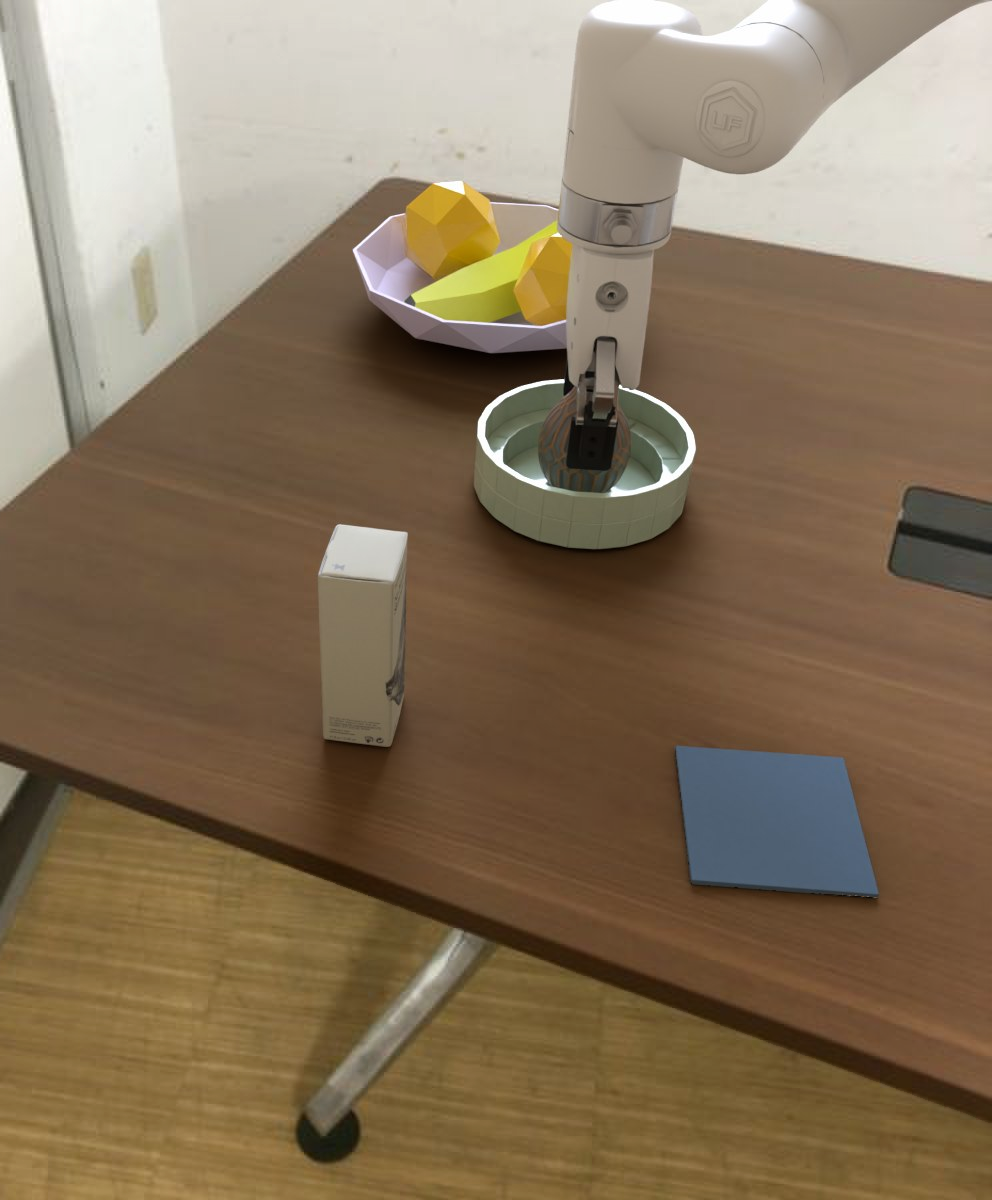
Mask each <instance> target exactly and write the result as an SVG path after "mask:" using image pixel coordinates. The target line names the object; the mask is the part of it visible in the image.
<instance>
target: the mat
mask: <svg viewBox="0 0 992 1200" xmlns="http://www.w3.org/2000/svg"><path fill="white" fill-rule="evenodd" d="M675 751H676V757H675V760H676V759H677V765H676V768H677V767H678V773H677V777H678V776H679V782H678V785H679V784H680V790H679V793H680V792H681V798H680V801H681V800H682V807H681V813H682V812H683V815H682V821H683V820H684V823H683V831H684V830H685V832H684V838H685V837H686V840H685V846H687V848H686V856H687V855H688V856H687V863H688V862H689V865H688V872H689V881H690V880H691V881H690V884H691V883H692V884H691V885H696V886H708V885H710V887H720V888H722V887H723V888H734V887H738V888H737V889H750V890H759V889H761V891H772V890H776V891H775V892H784V893H785V892H786V893H787V892H788V893H799V894H811V893H815V894H814V895H824V894H838V895H842V894H843V895H851V896H855V895H857V896H864V897H867V896H869V897H878V898H879V895H880V893H879V889H878V884H877V881H876V878H875V873H874V869H873V866H872V862H871V858H870V854H869V850H868V846H867V842H866V839H865V835H864V831H863V827H862V823H861V820H860V817H859V812H858V807H857V804H856V800H855V797H854V792H853V789H852V785H851V781H850V778H849V773H848V770H847V769H848V768H847V766H846V762H845V758H844V757H840V756H828V755H827V756H825V755H813V754H812V755H811V754H797V753H786V752H771V751H757V750H756V751H755V750H742V749H741V750H740V749H727V748H713V747H701V746H700V747H699V746H685V745H675V746H674V752H675ZM682 809H683V811H682ZM683 818H684V819H683ZM684 828H685V829H684ZM819 893H821V894H819Z"/></svg>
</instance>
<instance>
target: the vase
mask: <svg viewBox="0 0 992 1200" xmlns="http://www.w3.org/2000/svg"><path fill="white" fill-rule="evenodd" d="M577 390H578V387H576V386H574V387H573V389H572V390H571V391H570V392H569V393H568V394H567V395H566V396H564V397H563V398H562V399H561V400H560V401H559V402H558V403H556V404H555V405H554V406H553V408H552V409H551V410H550V411H549V413H548V415H547V416H546V418H545V420H544V423H543V425H542V428H541V431H540V435H539V441H538V457H539V463H540V467H541V470H542V472H543V475H544V477H545V478H546V480H547V481H548V482H549V484H550V485H551V486H552V487H556V488H561V489H566V490H570V491H577V492H593V493H605V492H607V491H608V490H610V489H611V488H612V487H613V486H615V485H616V483H617V482H618V481H619V480H620V478H621V476H622V475H623V473H624V471H625V469H626V467H627V464H628V460H629V456H630V451H631V432H630V427H629V423H628V420H627V417H626V415H625V414H624V412H623V410H622V409H621V407H620V406H619V405H618V409H617V419H618V426H617V433H616V439H615V445H614V452H613V458H612V464H611V468H610V469H609V470H607V471H600V470H584V469H570V468H568V467H567V466H566V455H567V448H568V440H569V432H570V424H571V417H576V404H577ZM593 391H594V390H592V389H586V402H585V405H587V403H588V401H592V396H593Z"/></svg>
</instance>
